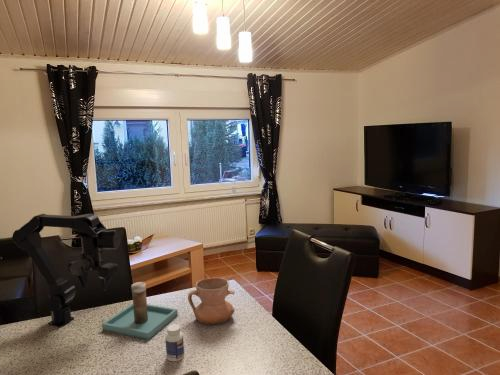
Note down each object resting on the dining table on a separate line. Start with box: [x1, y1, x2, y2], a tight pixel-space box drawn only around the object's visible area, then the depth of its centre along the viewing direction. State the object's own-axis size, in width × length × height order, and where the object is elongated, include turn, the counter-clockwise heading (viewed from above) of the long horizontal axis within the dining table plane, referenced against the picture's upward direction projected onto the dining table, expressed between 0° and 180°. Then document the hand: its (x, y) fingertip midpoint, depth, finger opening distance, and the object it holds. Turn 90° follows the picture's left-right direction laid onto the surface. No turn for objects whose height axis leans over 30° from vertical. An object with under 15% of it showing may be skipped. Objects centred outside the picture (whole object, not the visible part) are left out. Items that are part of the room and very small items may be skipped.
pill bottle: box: [165, 324, 185, 362], centre depth 111 cm, size 5×5×10 cm
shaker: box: [130, 281, 148, 324], centre depth 132 cm, size 5×5×14 cm
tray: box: [101, 303, 179, 341], centre depth 133 cm, size 20×18×2 cm
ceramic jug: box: [187, 277, 236, 326], centre depth 134 cm, size 18×14×14 cm
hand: (94, 289), depth 133 cm, fingers open, 9 cm apart
